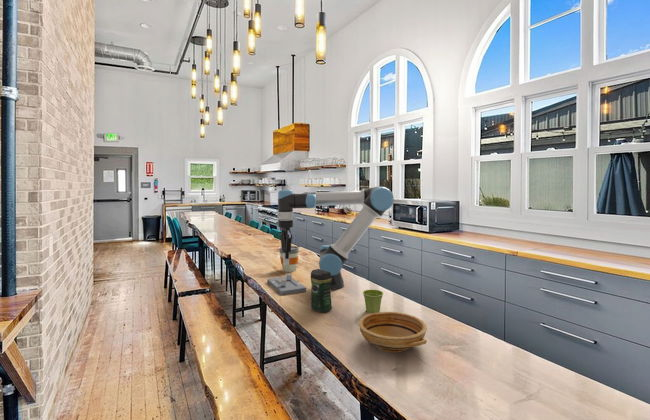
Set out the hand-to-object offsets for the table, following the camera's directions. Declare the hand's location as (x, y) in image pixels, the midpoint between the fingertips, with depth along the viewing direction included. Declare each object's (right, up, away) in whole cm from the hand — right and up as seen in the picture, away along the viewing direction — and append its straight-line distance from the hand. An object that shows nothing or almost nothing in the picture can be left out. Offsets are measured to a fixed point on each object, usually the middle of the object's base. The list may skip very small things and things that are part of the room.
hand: (286, 264), depth 188 cm
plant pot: (+42, -18, -25) cm, 52 cm away
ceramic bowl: (+44, -21, -58) cm, 76 cm away
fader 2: (-1, -12, +19) cm, 23 cm away
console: (-2, -15, +14) cm, 20 cm away
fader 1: (-3, -13, +7) cm, 15 cm away
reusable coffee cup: (-3, -12, +50) cm, 51 cm away
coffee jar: (+19, -18, -22) cm, 34 cm away
